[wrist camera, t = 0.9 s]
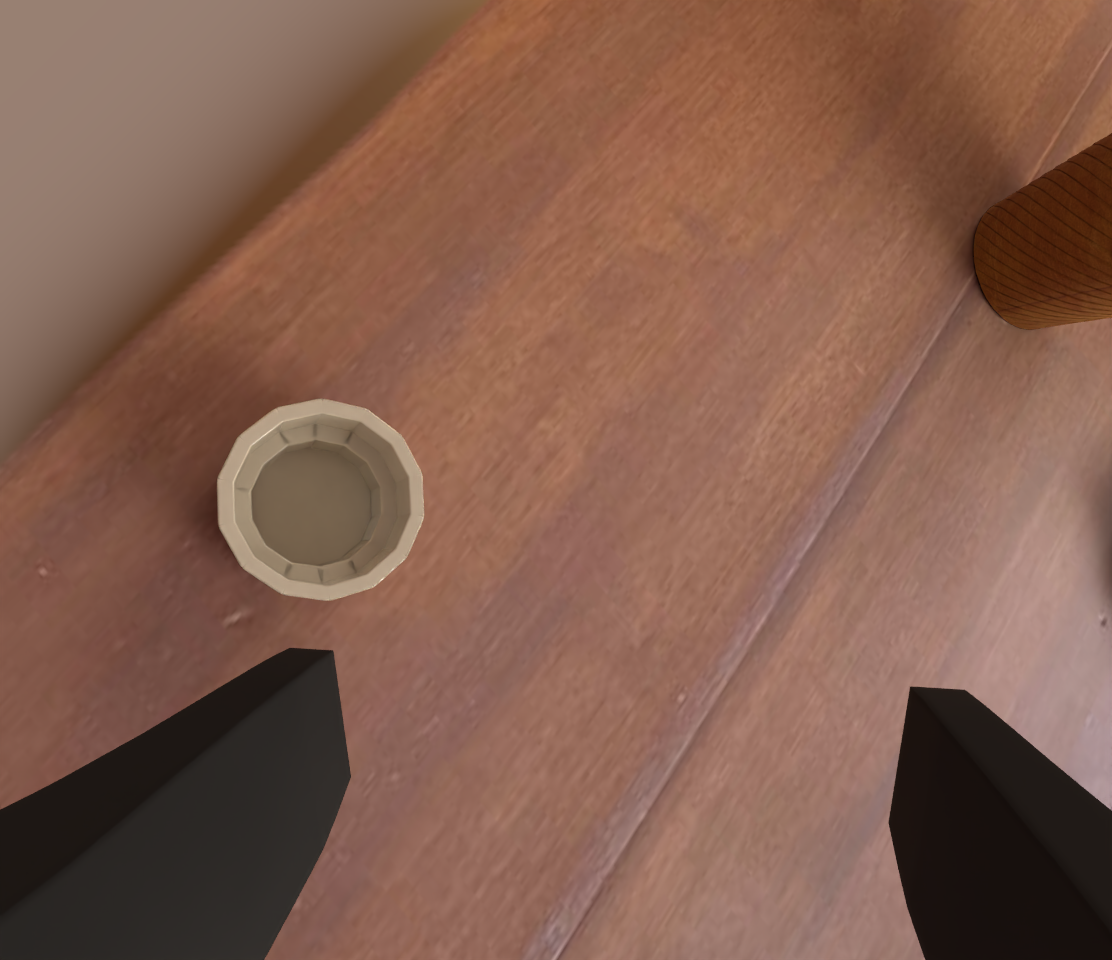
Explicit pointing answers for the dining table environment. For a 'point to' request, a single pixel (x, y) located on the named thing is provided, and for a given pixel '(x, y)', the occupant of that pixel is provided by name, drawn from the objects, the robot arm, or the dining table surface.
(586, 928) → the dining table surface
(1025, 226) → the disposable coffee cup
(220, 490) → the small beige cup
